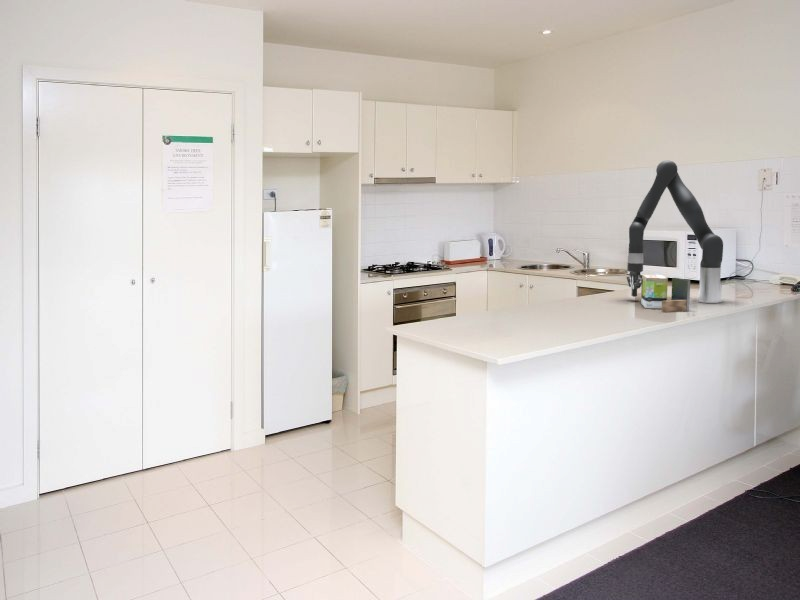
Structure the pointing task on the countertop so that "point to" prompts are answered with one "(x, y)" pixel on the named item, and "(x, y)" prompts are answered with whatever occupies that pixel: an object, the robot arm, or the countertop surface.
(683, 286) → the bookend
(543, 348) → the countertop surface
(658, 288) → the tea box
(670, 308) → the wooden block
